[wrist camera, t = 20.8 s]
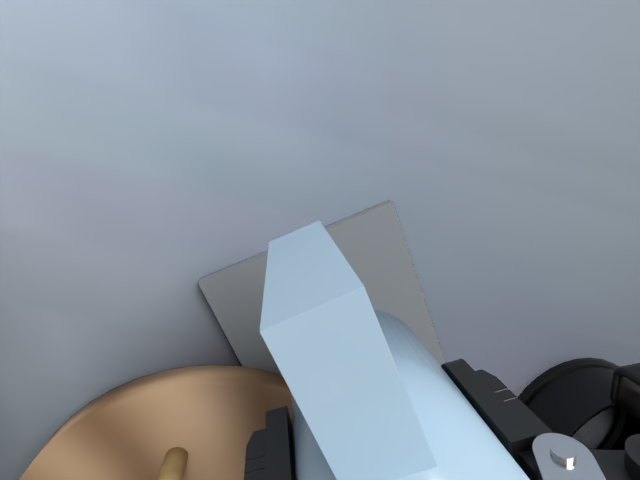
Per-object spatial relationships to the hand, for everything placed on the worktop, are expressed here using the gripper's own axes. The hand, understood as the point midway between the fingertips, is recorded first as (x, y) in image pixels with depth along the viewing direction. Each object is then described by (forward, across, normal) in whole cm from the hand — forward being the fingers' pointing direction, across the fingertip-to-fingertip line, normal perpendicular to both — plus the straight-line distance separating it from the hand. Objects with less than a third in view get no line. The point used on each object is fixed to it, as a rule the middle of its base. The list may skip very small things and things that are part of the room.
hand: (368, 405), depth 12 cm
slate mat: (+6, 0, 0) cm, 6 cm away
